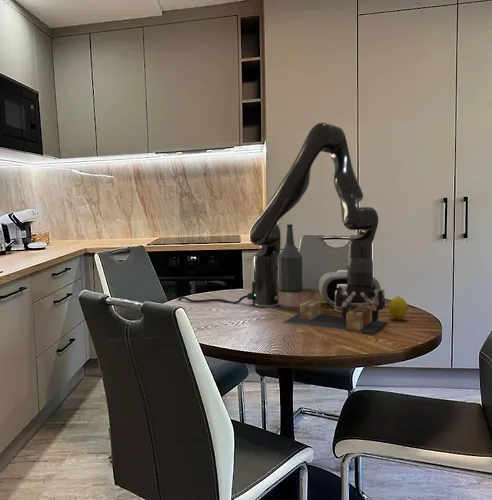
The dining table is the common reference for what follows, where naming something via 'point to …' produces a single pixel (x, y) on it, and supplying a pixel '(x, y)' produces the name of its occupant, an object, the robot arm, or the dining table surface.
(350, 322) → the letter block row
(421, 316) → the dining table surface
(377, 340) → the dining table surface
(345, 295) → the pill bottle
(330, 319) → the word mat
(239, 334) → the dining table surface
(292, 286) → the bottle
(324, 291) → the alarm clock
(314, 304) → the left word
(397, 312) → the lemon
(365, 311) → the red block
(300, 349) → the dining table surface
